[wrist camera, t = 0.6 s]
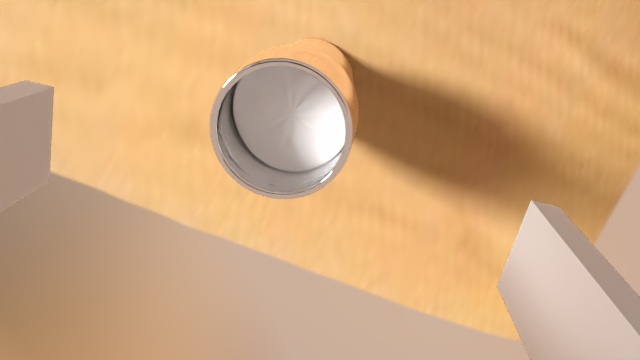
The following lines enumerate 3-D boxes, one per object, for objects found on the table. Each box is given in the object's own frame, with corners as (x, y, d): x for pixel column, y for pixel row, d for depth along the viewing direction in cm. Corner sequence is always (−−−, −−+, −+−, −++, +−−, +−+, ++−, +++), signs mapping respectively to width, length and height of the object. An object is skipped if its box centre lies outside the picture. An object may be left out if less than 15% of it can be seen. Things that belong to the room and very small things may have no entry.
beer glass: (351, 23, 37) (343, 39, 23) (366, 121, 39) (368, 192, 25) (253, 41, 38) (187, 68, 24) (273, 136, 40) (224, 213, 26)
